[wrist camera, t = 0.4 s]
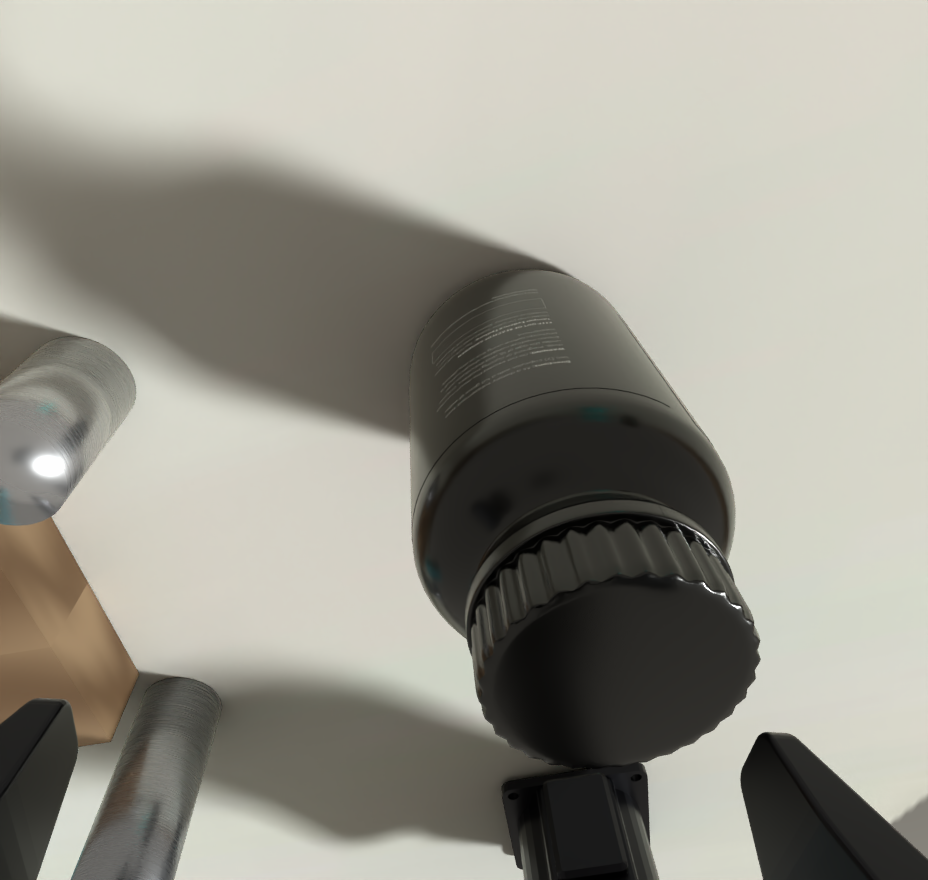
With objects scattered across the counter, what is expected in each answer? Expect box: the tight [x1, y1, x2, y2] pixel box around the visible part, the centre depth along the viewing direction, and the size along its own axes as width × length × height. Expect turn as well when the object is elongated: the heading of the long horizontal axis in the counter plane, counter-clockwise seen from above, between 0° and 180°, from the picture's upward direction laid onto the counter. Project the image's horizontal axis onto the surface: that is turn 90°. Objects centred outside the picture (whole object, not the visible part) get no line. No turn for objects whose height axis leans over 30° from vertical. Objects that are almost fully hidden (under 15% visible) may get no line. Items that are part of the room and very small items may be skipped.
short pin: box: [0, 337, 136, 526], centre depth 19 cm, size 3×3×5 cm
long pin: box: [71, 678, 222, 880], centre depth 25 cm, size 3×3×9 cm
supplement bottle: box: [409, 269, 761, 769], centre depth 17 cm, size 7×7×12 cm
